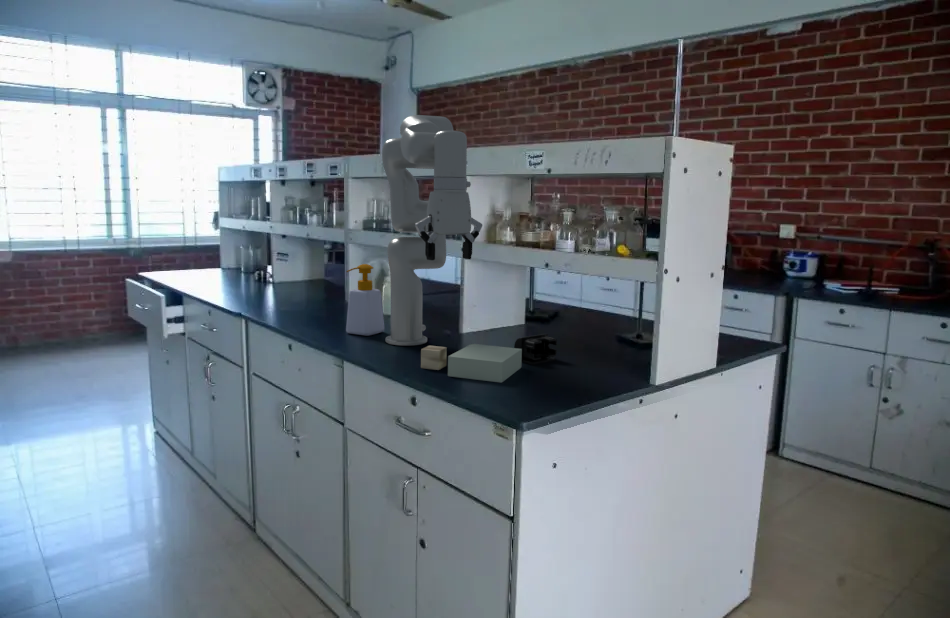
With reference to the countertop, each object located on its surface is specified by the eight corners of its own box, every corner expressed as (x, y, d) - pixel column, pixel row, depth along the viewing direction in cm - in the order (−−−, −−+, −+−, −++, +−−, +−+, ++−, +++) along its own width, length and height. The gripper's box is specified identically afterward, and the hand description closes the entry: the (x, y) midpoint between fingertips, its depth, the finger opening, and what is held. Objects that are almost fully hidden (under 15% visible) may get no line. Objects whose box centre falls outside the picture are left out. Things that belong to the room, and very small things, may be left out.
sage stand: (471, 361, 180) (471, 343, 179) (521, 367, 175) (521, 348, 174) (447, 376, 165) (448, 356, 164) (501, 382, 160) (502, 362, 160)
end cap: (539, 355, 190) (540, 331, 189) (557, 360, 185) (558, 336, 183) (513, 360, 184) (514, 335, 183) (531, 365, 178) (532, 340, 177)
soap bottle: (335, 336, 209) (334, 265, 206) (362, 329, 222) (362, 262, 218) (359, 339, 205) (359, 267, 201) (386, 332, 217) (386, 263, 214)
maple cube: (429, 363, 177) (429, 345, 177) (446, 365, 176) (446, 347, 175) (420, 368, 173) (420, 349, 172) (438, 370, 171) (438, 351, 170)
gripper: (474, 187, 163) (472, 257, 166) (409, 185, 155) (409, 259, 158) (490, 186, 157) (488, 259, 160) (423, 184, 148) (422, 261, 151)
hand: (449, 259), depth 159 cm, fingers open, 9 cm apart
